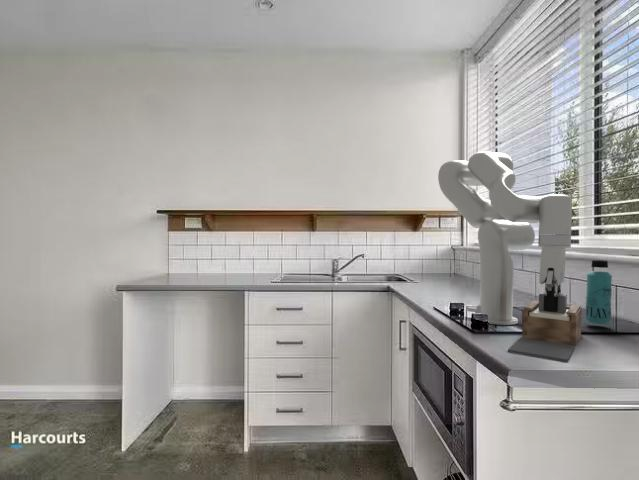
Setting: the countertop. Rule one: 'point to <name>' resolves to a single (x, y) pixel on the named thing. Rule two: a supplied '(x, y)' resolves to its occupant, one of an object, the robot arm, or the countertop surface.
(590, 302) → the beverage bottle
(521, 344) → the charcoal mat
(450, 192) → the robot arm
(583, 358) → the countertop surface
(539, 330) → the walnut box
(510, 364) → the countertop surface
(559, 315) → the cover plate
